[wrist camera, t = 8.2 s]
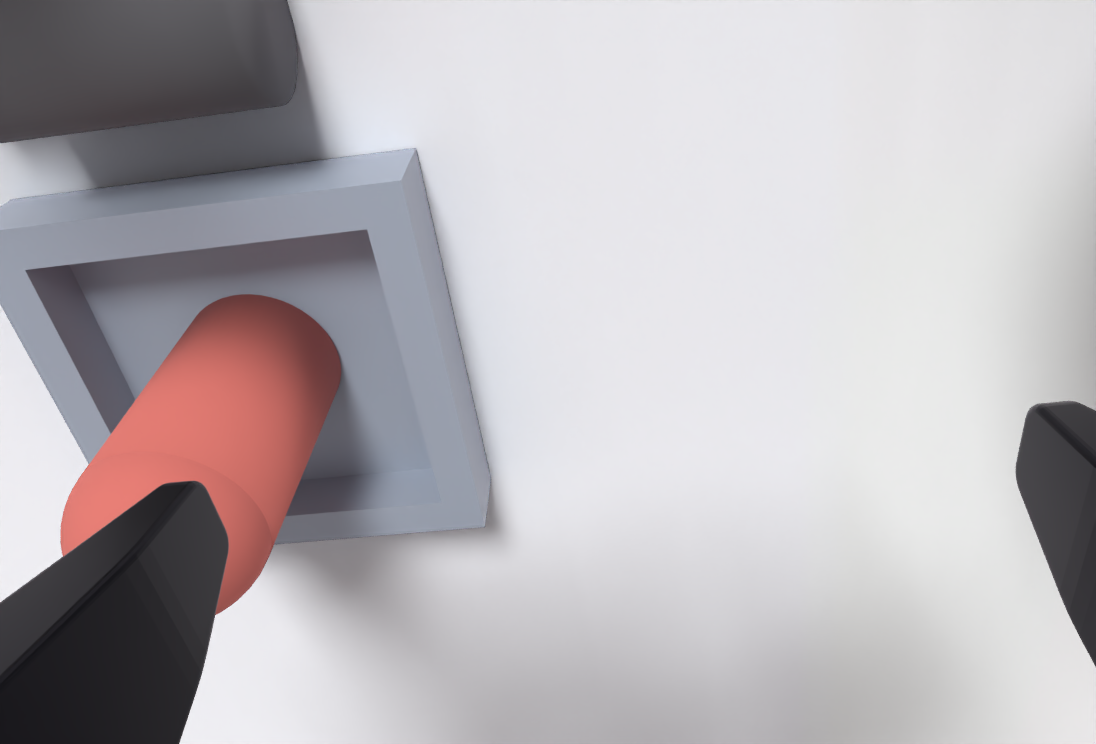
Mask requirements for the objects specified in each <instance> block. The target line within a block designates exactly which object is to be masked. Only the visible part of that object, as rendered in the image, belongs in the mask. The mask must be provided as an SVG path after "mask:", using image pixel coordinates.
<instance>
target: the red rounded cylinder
mask: <svg viewBox="0 0 1096 744" xmlns="http://www.w3.org/2000/svg"><path fill="white" fill-rule="evenodd" d="M340 379H341V363H340V359H339V355H338V352H337V350H336V347H335V345H334V343H333V342H332V340H331V338H330V337H329V335H328V334H327V333H326V331H325V330H324V329H323V328H322V327H321V326H320V325H319V324H318V323H317V322H316V321H315V320H314V319H313V318H312V317H310V316H309V315H308V314H306V313H305V312H303V311H302V310H300V309H298V308H297V307H295V306H293V305H291V304H289V303H286V302H284V301H281V300H278V299H275V298H272V297H267V296H262V295H253V294H241V295H233V296H228V297H225V298H221V299H219V300H217V301H214V302H212V303H211V304H209V305H208V306H206V307H205V308H204V309H203V310H201V311H200V312H199V313H198V315H197V316H196V317H195V318H194V320H193V321H192V323H191V324H190V325H189V327H188V328H187V330H186V331H185V332H184V334H183V335H182V336H181V338H180V339H179V341H178V342H177V343H176V345H175V346H174V348H173V349H172V350H171V352H170V353H169V354H168V356H167V357H166V359H165V360H164V361H163V363H162V364H161V365H160V367H159V368H158V370H157V371H156V372H155V374H154V375H153V377H152V378H151V379H150V381H149V382H148V383H147V385H146V386H145V388H144V389H143V390H142V392H141V393H140V395H139V396H138V397H137V399H136V400H135V401H134V403H133V404H132V406H131V407H130V408H129V410H128V411H127V413H126V414H125V415H124V417H123V418H122V419H121V421H120V422H119V424H118V425H117V426H116V428H115V429H114V431H113V432H112V433H111V435H110V436H109V437H108V439H107V440H106V442H105V443H104V444H103V446H102V447H101V449H100V450H99V451H98V453H97V454H96V455H95V457H94V458H93V460H92V461H91V462H90V464H89V465H88V467H87V468H86V469H85V471H84V472H83V473H82V475H81V476H80V478H79V479H78V481H77V482H76V484H75V486H74V487H73V489H72V491H71V493H70V495H69V497H68V500H67V503H66V505H65V509H64V512H63V517H62V522H61V549H62V554H63V556H65V555H66V554H67V553H69V552H70V551H71V550H73V549H74V548H75V547H77V546H78V545H80V544H81V543H82V542H84V541H85V540H86V539H88V538H89V537H91V536H92V535H93V534H95V533H96V532H97V531H99V530H100V529H101V528H103V527H104V526H106V525H107V524H108V523H110V522H111V521H112V520H114V519H115V518H116V517H118V516H119V515H121V514H122V513H123V512H125V511H126V510H127V509H129V508H130V507H132V506H133V505H134V504H136V503H137V502H138V501H140V500H141V499H142V498H144V497H145V496H147V495H148V494H149V493H151V492H152V491H153V490H155V489H156V488H158V487H159V486H161V485H162V484H165V483H170V482H181V481H193V480H194V481H198V482H200V483H202V484H203V485H204V486H205V487H206V489H207V491H208V492H209V495H210V497H211V499H212V501H213V503H214V505H215V507H216V510H217V512H218V514H219V516H220V518H221V520H222V522H223V525H224V527H225V529H226V532H227V535H228V540H229V551H228V557H227V562H226V567H225V571H224V576H223V581H222V585H221V590H220V595H219V599H218V604H217V609H216V613H215V615H216V614H218V613H220V612H222V611H223V610H225V609H226V608H228V607H229V606H231V605H232V604H233V603H235V602H236V601H237V600H238V599H239V598H240V597H241V596H242V595H243V594H244V593H245V592H246V591H247V590H248V589H249V588H250V587H251V586H252V584H253V583H254V582H255V580H256V579H257V578H258V576H259V575H260V573H261V571H262V570H263V568H264V566H265V564H266V562H267V559H268V557H269V555H270V553H271V550H272V548H273V545H274V543H275V540H276V538H277V536H278V533H279V531H280V528H281V526H282V523H283V521H284V519H285V516H286V514H287V511H288V509H289V506H290V504H291V502H292V499H293V497H294V494H295V492H296V489H297V487H298V485H299V482H300V480H301V477H302V475H303V472H304V470H305V468H306V465H307V463H308V460H309V458H310V455H311V453H312V451H313V448H314V446H315V443H316V441H317V438H318V436H319V434H320V431H321V429H322V426H323V424H324V421H325V419H326V417H327V414H328V412H329V409H330V407H331V404H332V402H333V400H334V397H335V395H336V392H337V390H338V387H339V384H340Z"/></svg>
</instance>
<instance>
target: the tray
mask: <svg viewBox="0 0 1096 744" xmlns="http://www.w3.org/2000/svg"><path fill="white" fill-rule="evenodd" d="M241 294H253V295H262V296H267V297H272V298H275V299H278V300H281V301H284V302H286V303H289V304H291V305H293V306H295V307H297V308H298V309H300V310H302V311H303V312H305V313H306V314H308V315H309V316H310V317H312V318H313V319H314V320H315V321H316V322H317V323H318V324H319V325H320V326H321V327H322V328H323V329H324V330H325V331H326V333H327V334H328V335H329V337H330V338H331V340H332V342H333V343H334V345H335V347H336V350H337V352H338V355H339V359H340V363H341V379H340V384H339V387H338V390H337V392H336V395H335V397H334V400H333V402H332V404H331V407H330V409H329V412H328V414H327V417H326V419H325V421H324V424H323V426H322V429H321V431H320V434H319V436H318V438H317V441H316V443H315V446H314V448H313V451H312V453H311V455H310V458H309V460H308V463H307V465H306V468H305V470H304V472H303V475H302V477H301V480H300V482H299V485H298V487H297V489H296V492H295V494H294V497H293V499H292V502H291V504H290V506H289V509H288V511H287V514H286V516H285V519H284V521H283V523H282V526H281V528H280V531H279V533H278V536H277V538H276V540H275V543H274V544H285V543H297V542H309V541H321V540H334V539H346V538H358V537H370V536H382V535H394V534H406V533H418V532H430V531H443V530H455V529H467V528H479V527H485V523H486V515H487V507H488V499H489V491H490V483H491V477H490V472H489V468H488V463H487V459H486V455H485V450H484V446H483V441H482V437H481V433H480V428H479V424H478V419H477V415H476V411H475V406H474V402H473V397H472V393H471V389H470V384H469V380H468V375H467V371H466V367H465V362H464V358H463V353H462V349H461V345H460V340H459V336H458V331H457V327H456V323H455V318H454V314H453V309H452V305H451V301H450V296H449V292H448V288H447V283H446V279H445V274H444V270H443V266H442V261H441V257H440V252H439V248H438V244H437V239H436V235H435V230H434V226H433V222H432V217H431V213H430V208H429V204H428V200H427V195H426V191H425V186H424V182H423V178H422V173H421V169H420V164H419V160H418V156H417V151H416V148H412V149H405V150H397V151H389V152H381V153H373V154H365V155H357V156H350V157H342V158H334V159H326V160H318V161H310V162H302V163H295V164H287V165H279V166H271V167H263V168H255V169H247V170H240V171H232V172H224V173H216V174H208V175H200V176H193V177H185V178H177V179H169V180H161V181H153V182H145V183H138V184H130V185H122V186H114V187H106V188H98V189H90V190H83V191H75V192H67V193H59V194H51V195H43V196H35V197H28V198H20V199H12V200H10V201H8V202H7V203H5V204H4V205H3V206H1V207H0V305H1V306H2V308H3V310H4V312H5V314H6V315H7V317H8V319H9V321H10V323H11V324H12V326H13V328H14V330H15V332H16V333H17V335H18V337H19V339H20V341H21V342H22V344H23V346H24V348H25V350H26V351H27V353H28V355H29V357H30V359H31V360H32V362H33V364H34V366H35V368H36V369H37V371H38V373H39V375H40V377H41V378H42V380H43V382H44V384H45V386H46V388H47V389H48V391H49V393H50V395H51V397H52V398H53V400H54V402H55V404H56V406H57V407H58V409H59V411H60V413H61V415H62V416H63V418H64V420H65V422H66V424H67V425H68V427H69V429H70V431H71V433H72V434H73V436H74V438H75V440H76V442H77V443H78V445H79V447H80V449H81V451H82V452H83V454H84V456H85V458H86V460H87V461H88V463H89V464H90V462H91V461H92V460H93V458H94V457H95V455H96V454H97V453H98V451H99V450H100V449H101V447H102V446H103V444H104V443H105V442H106V440H107V439H108V437H109V436H110V435H111V433H112V432H113V431H114V429H115V428H116V426H117V425H118V424H119V422H120V421H121V419H122V418H123V417H124V415H125V414H126V413H127V411H128V410H129V408H130V407H131V406H132V404H133V403H134V401H135V400H136V399H137V397H138V396H139V395H140V393H141V392H142V390H143V389H144V388H145V386H146V385H147V383H148V382H149V381H150V379H151V378H152V377H153V375H154V374H155V372H156V371H157V370H158V368H159V367H160V365H161V364H162V363H163V361H164V360H165V359H166V357H167V356H168V354H169V353H170V352H171V350H172V349H173V348H174V346H175V345H176V343H177V342H178V341H179V339H180V338H181V336H182V335H183V334H184V332H185V331H186V330H187V328H188V327H189V325H190V324H191V323H192V321H193V320H194V318H195V317H196V316H197V315H198V313H199V312H200V311H201V310H203V309H204V308H205V307H206V306H208V305H209V304H211V303H212V302H214V301H217V300H219V299H221V298H225V297H228V296H233V295H241Z"/></svg>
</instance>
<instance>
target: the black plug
mask: <svg viewBox="0 0 1096 744" xmlns="http://www.w3.org/2000/svg"><path fill="white" fill-rule="evenodd" d="M296 80H297V46H296V37H295V30H294V25H293V20H292V17H291V13H290V10H289V6H288V3H287V0H0V143H6V142H14V141H21V140H29V139H36V138H44V137H51V136H59V135H66V134H74V133H81V132H89V131H96V130H104V129H111V128H119V127H126V126H134V125H141V124H149V123H156V122H164V121H171V120H179V119H186V118H194V117H201V116H209V115H216V114H224V113H231V112H239V111H246V110H254V109H261V108H269V107H276V106H282V105H285V104H287V103H288V102H289V101H290V99H291V98H292V95H293V93H294V90H295V86H296Z"/></svg>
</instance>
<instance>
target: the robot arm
mask: <svg viewBox="0 0 1096 744" xmlns="http://www.w3.org/2000/svg"><path fill="white" fill-rule="evenodd" d="M1016 480H1017V484H1018V488H1019V491H1020V493H1021V496H1022V498H1023V501H1024V504H1025V506H1026V509H1027V511H1028V514H1029V516H1030V519H1031V521H1032V524H1033V527H1034V529H1035V532H1036V534H1037V537H1038V539H1039V542H1040V545H1041V547H1042V550H1043V552H1044V555H1045V557H1046V560H1047V562H1048V565H1049V568H1050V570H1051V573H1052V575H1053V578H1054V580H1055V583H1056V586H1057V588H1058V591H1059V593H1060V596H1061V598H1062V600H1063V603H1064V605H1065V607H1066V610H1067V612H1068V614H1069V616H1070V618H1071V620H1072V622H1073V624H1074V626H1075V628H1076V630H1077V632H1078V634H1079V636H1080V638H1081V640H1082V642H1083V644H1084V646H1085V647H1086V649H1087V651H1088V653H1089V655H1090V657H1091V659H1092V661H1093V662H1094V664H1095V666H1096V411H1095V410H1093V409H1091V408H1089V407H1087V406H1085V405H1083V404H1080V403H1078V402H1074V401H1063V402H1052V403H1041V404H1036V405H1034V406H1033V407H1031V408H1030V409H1029V411H1028V413H1027V415H1026V418H1025V423H1024V428H1023V433H1022V438H1021V443H1020V447H1019V452H1018V457H1017V462H1016ZM228 551H229V540H228V535H227V532H226V529H225V527H224V525H223V522H222V520H221V518H220V516H219V514H218V512H217V510H216V507H215V505H214V503H213V501H212V499H211V497H210V495H209V492H208V491H207V489H206V487H205V486H204V485H203V484H202V483H200V482H198V481H194V480H193V481H181V482H170V483H165V484H162V485H161V486H159V487H158V488H156V489H155V490H153V491H152V492H151V493H149V494H148V495H147V496H145V497H144V498H142V499H141V500H140V501H138V502H137V503H136V504H134V505H133V506H132V507H130V508H129V509H127V510H126V511H125V512H123V513H122V514H121V515H119V516H118V517H116V518H115V519H114V520H112V521H111V522H110V523H108V524H107V525H106V526H104V527H103V528H101V529H100V530H99V531H97V532H96V533H95V534H93V535H92V536H91V537H89V538H88V539H86V540H85V541H84V542H82V543H81V544H80V545H78V546H77V547H75V548H74V549H73V550H71V551H70V552H69V553H67V554H66V555H65V556H63V557H62V558H60V559H59V560H58V561H56V562H55V563H54V564H52V565H51V566H50V567H48V568H47V569H45V570H44V571H43V572H41V573H40V574H39V575H37V576H36V577H34V578H33V579H32V580H30V581H29V582H28V583H26V584H25V585H24V586H22V587H21V588H19V589H18V590H17V591H15V592H14V593H13V594H11V595H10V596H9V597H7V598H6V599H4V600H3V601H2V602H0V744H179V742H180V739H181V736H182V733H183V730H184V727H185V724H186V721H187V718H188V715H189V712H190V709H191V706H192V703H193V700H194V697H195V694H196V691H197V688H198V685H199V681H200V678H201V675H202V671H203V667H204V663H205V659H206V655H207V651H208V646H209V641H210V637H211V632H212V627H213V623H214V618H215V613H216V609H217V604H218V599H219V595H220V590H221V585H222V581H223V576H224V571H225V567H226V562H227V557H228Z"/></svg>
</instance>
